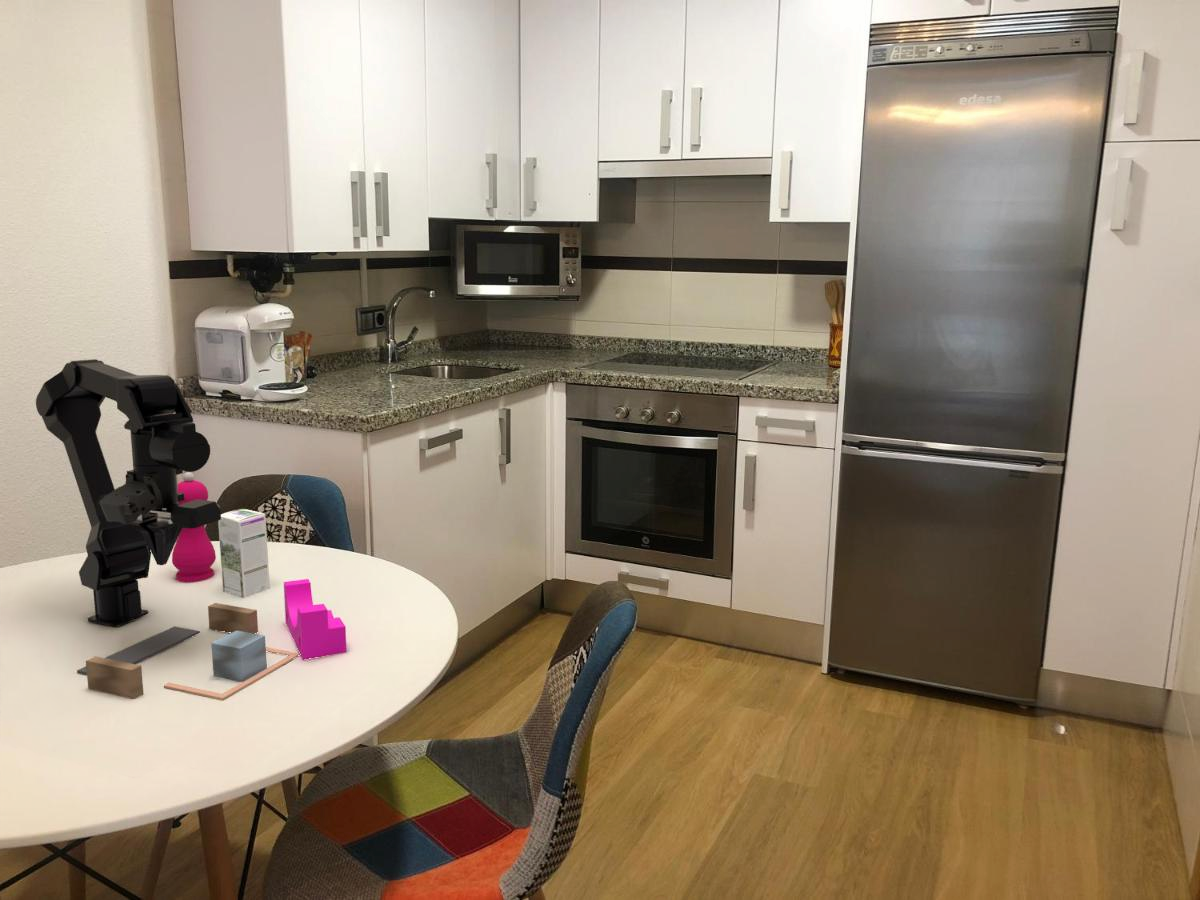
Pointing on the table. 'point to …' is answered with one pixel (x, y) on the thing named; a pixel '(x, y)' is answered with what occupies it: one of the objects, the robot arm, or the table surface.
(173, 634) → the grey flat board
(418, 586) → the table surface
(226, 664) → the cube
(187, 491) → the pepper mill
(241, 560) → the syrup box
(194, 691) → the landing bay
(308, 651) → the toy block
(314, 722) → the table surface
